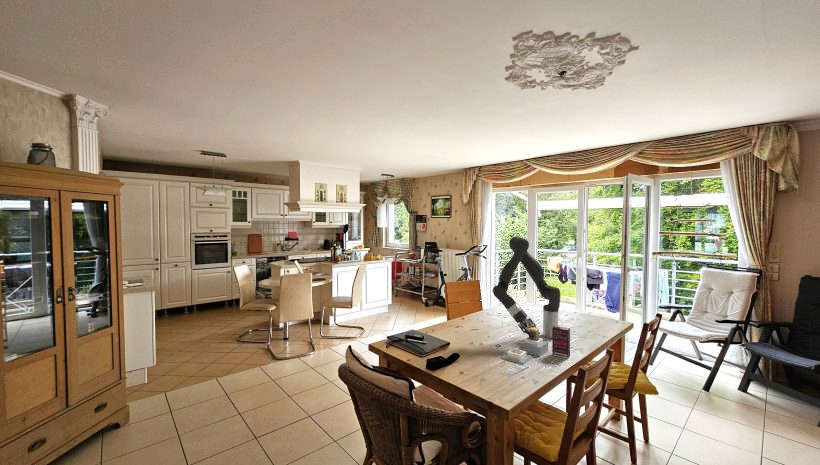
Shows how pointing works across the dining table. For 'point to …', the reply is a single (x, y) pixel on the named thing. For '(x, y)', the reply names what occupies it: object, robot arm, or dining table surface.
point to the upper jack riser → (534, 346)
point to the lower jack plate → (517, 356)
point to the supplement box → (561, 341)
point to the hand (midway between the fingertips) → (536, 336)
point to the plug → (534, 333)
